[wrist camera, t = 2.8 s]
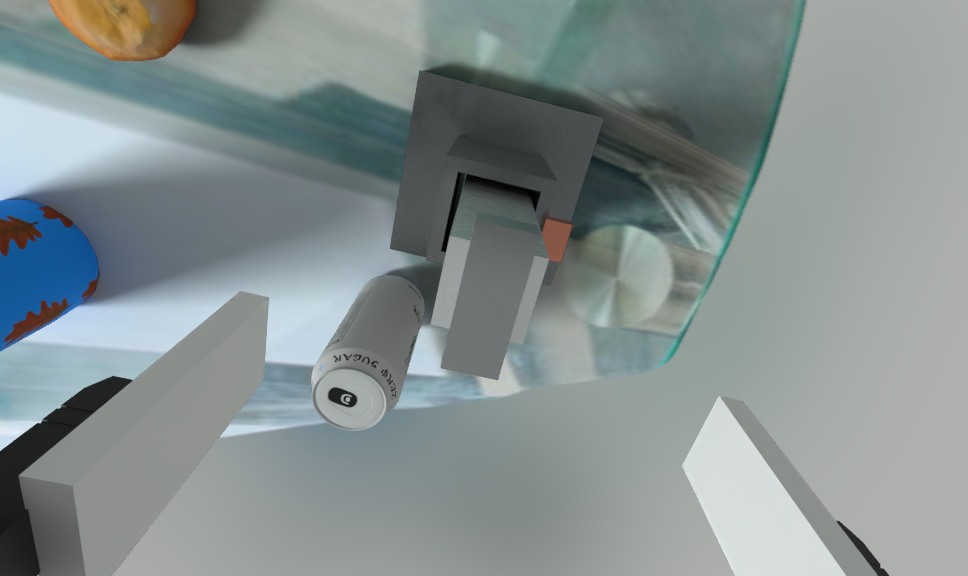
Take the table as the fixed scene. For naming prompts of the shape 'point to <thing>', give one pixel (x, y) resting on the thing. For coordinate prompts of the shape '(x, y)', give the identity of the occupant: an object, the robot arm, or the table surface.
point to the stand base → (489, 161)
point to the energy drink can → (368, 355)
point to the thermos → (40, 268)
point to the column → (489, 276)
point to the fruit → (127, 25)
